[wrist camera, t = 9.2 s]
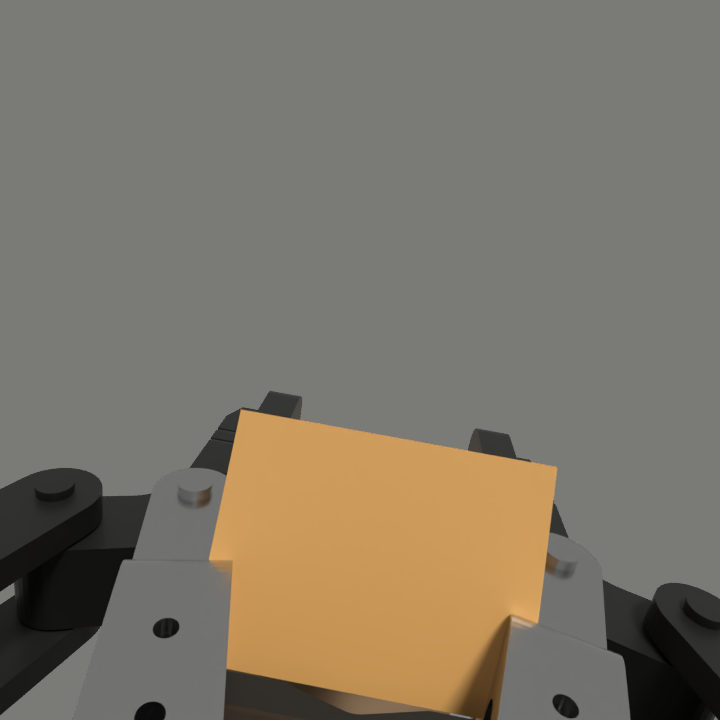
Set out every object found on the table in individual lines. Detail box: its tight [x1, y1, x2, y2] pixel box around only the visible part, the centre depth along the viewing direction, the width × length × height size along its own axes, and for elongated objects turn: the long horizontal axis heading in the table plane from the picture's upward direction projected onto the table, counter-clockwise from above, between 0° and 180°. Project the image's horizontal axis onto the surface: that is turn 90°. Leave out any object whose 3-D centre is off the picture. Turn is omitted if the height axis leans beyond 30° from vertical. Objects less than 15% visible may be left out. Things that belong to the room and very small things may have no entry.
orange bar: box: [209, 409, 557, 719], centre depth 18 cm, size 4×22×3 cm, turn 0°
